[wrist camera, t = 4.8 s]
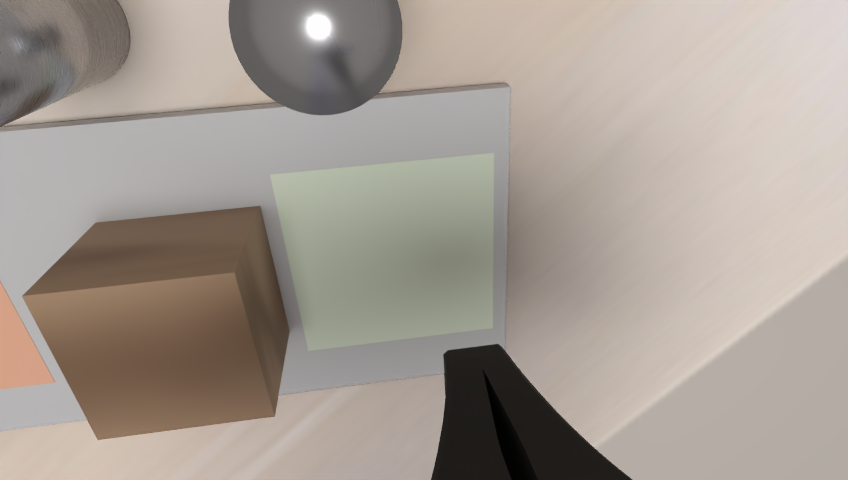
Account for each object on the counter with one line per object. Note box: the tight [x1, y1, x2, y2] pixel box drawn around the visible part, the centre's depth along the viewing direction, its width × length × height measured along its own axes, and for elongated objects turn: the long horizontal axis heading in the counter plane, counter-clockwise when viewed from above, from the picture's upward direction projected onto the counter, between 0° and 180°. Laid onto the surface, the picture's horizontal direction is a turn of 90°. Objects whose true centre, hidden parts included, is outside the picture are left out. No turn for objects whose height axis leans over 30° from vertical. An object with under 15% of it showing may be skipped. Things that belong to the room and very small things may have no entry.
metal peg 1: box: [0, 0, 130, 127], centre depth 11 cm, size 3×3×6 cm
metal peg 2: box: [229, 0, 402, 115], centre depth 12 cm, size 3×3×6 cm
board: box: [0, 83, 511, 431], centre depth 17 cm, size 11×24×1 cm, turn 93°
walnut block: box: [22, 206, 290, 440], centre depth 15 cm, size 5×5×4 cm
